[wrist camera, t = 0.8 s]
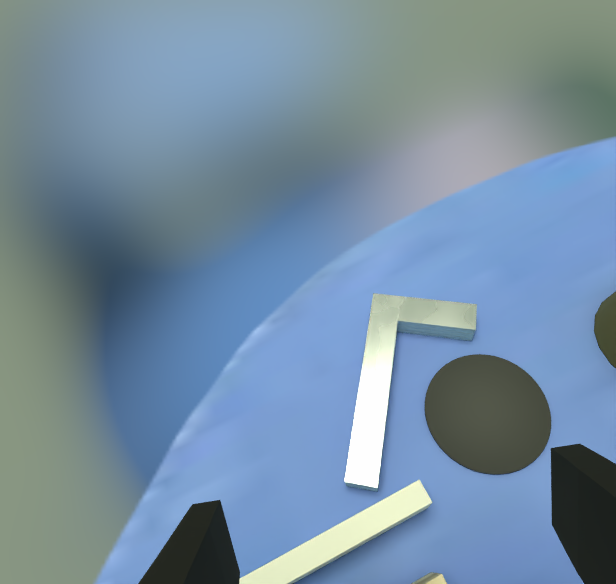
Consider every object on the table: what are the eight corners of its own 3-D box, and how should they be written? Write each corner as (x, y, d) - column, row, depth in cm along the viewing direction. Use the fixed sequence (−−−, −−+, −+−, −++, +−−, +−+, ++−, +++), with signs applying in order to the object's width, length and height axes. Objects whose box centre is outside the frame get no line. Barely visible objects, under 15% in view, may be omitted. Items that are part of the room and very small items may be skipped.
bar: (464, 509, 22) (469, 505, 21) (346, 486, 23) (344, 481, 22) (472, 316, 27) (476, 304, 25) (373, 306, 28) (373, 293, 27)
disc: (552, 485, 22) (553, 484, 22) (419, 462, 23) (420, 461, 23) (547, 363, 25) (548, 362, 25) (429, 348, 26) (429, 347, 26)
